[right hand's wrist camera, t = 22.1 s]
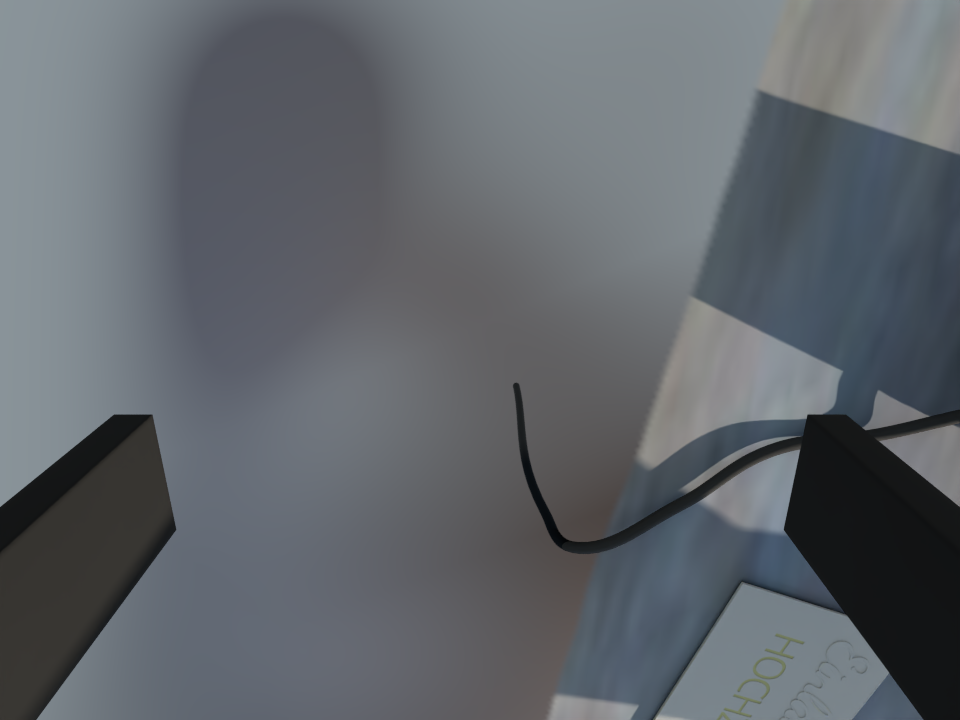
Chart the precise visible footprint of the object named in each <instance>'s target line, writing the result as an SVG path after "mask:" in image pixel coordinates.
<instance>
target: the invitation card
mask: <svg viewBox="0 0 960 720" xmlns="http://www.w3.org/2000/svg"><path fill="white" fill-rule="evenodd" d="M888 674H889V672H888V671H887V669H886V668H885V666H884V665H883V664H882V662H881V661H880V660H879V658H878V657H877V656H876V654H875V653H874V652H873V650H872V649H871V647H870V646H869V645H868V643H867V642H866V641H865V639H864V638H863V637H862V635H861V634H860V633H859V631H858V630H857V628H856V627H855V626H854V624H853V623H852V622H851V620H850V619H849V618H848V616H847V615H846V614H842V613H839V612H836V611H833V610H830V609H827V608H823V607H820V606H817V605H814V604H811V603H808V602H804V601H801V600H798V599H795V598H792V597H789V596H785V595H782V594H779V593H776V592H773V591H770V590H766V589H763V588H760V587H757V586H754V585H751V584H747V583H744V582H741V584H740V585H739V587H738V588H737V590H736V592H735V593H734V595H733V596H732V598H731V599H730V601H729V602H728V604H727V606H726V607H725V609H724V610H723V612H722V613H721V615H720V616H719V618H718V620H717V621H716V623H715V624H714V626H713V627H712V629H711V630H710V632H709V633H708V635H707V637H706V638H705V640H704V641H703V643H702V644H701V646H700V647H699V649H698V651H697V652H696V654H695V655H694V657H693V658H692V660H691V661H690V663H689V665H688V666H687V668H686V669H685V671H684V672H683V674H682V675H681V677H680V678H679V680H678V682H677V683H676V685H675V686H674V688H673V689H672V691H671V692H670V694H669V696H668V697H667V699H666V700H665V702H664V703H663V705H662V706H661V708H660V710H659V711H658V713H657V714H656V716H655V717H654V719H653V720H852V719H853V718H854V717H855V715H856V714H857V713H858V712H859V710H860V709H861V708H862V707H863V705H864V704H865V703H866V702H867V700H868V699H869V698H870V697H871V695H872V694H873V693H874V692H875V690H876V689H877V688H878V687H879V685H880V684H881V683H882V682H883V680H884V679H885V678H886V677H887V675H888Z"/></svg>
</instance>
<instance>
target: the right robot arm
mask: <svg viewBox="0 0 960 720" xmlns="http://www.w3.org/2000/svg"><path fill="white" fill-rule="evenodd" d="M513 389H514V395H515V403H516V414H517V429H518V441H519V450H520V456H521V462H522V466H523V471H524V474H525V478H526V481H527V484H528V487H529V489H530V492H531V494H532V497H533V499H534V502H535V504H536V506H537V508H538V510H539V512H540V514H541V516H542V518H543V520H544V523H545V526H546V528H547V531H548V533H549V535H550V537H551V539H552V540H553V541H554V543H555V544H556V545H557V546H558V547H560V548H561V549H563V550H565V551H568V552H572V553H578V554H591V553H599V552H603V551H607V550H610V549H613V548H616V547H618V546H620V545H622V544H625V543H627V542H629V541H630V540H632V539H634V538H636V537H638V536H639V535H641V534H643V533H644V532H646V531H648V530H649V529H651V528H653V527H654V526H656V525H658V524H659V523H661V522H663V521H664V520H666V519H668V518H669V517H671V516H673V515H675V514H677V513H679V512H680V511H682V510H684V509H686V508H688V507H690V506H692V505H693V504H695V503H697V502H698V501H700V500H702V499H703V498H705V497H706V496H708V495H709V494H711V493H712V492H714V491H715V490H716V489H718V488H719V487H721V486H722V485H723V484H725V483H726V482H728V481H729V480H730V479H732V478H733V477H735V476H736V475H738V474H739V473H741V472H742V471H744V470H746V469H748V468H749V467H751V466H753V465H755V464H757V463H759V462H761V461H763V460H766V459H768V458H771V457H773V456H776V455H779V454H782V453H786V452H790V451H794V450H799V449H800V454H799V459H798V464H797V468H796V473H795V478H794V483H793V488H792V492H791V497H790V502H789V507H788V512H787V517H786V521H785V526H784V531H785V532H786V533H787V535H788V536H789V538H790V539H791V540H792V542H793V543H794V544H795V546H796V547H797V548H798V550H799V551H800V552H801V554H802V555H803V557H804V558H805V559H806V561H807V562H808V563H809V565H810V566H811V567H812V569H813V570H814V571H815V573H816V574H817V576H818V577H819V578H820V580H821V581H822V582H823V584H824V585H825V586H826V588H827V589H828V590H829V592H830V593H831V595H832V596H833V597H834V599H835V600H836V601H837V603H838V604H839V605H840V607H841V608H842V609H843V611H844V612H845V614H846V615H847V616H848V618H849V619H850V620H851V622H852V623H853V624H854V626H855V627H856V628H857V630H858V631H859V633H860V634H861V635H862V637H863V638H864V639H865V641H866V642H867V643H868V645H869V646H870V647H871V649H872V650H873V652H874V653H875V654H876V656H877V657H878V658H879V660H880V661H881V662H882V664H883V665H884V666H885V668H886V669H887V671H888V672H889V673H890V675H891V676H892V677H893V679H894V680H895V681H896V683H897V684H898V685H899V687H900V688H901V690H902V691H903V692H904V694H905V695H906V696H907V698H908V699H909V700H910V702H911V703H912V704H913V706H914V707H915V709H916V710H917V711H918V713H919V714H920V715H921V717H922V718H923V719H924V720H960V507H959V506H958V505H957V504H955V503H954V502H953V501H952V500H950V499H949V498H948V497H947V496H945V495H944V494H943V493H942V492H941V491H939V490H938V489H937V488H936V487H934V486H933V485H932V484H931V483H929V482H928V481H927V480H926V479H925V478H923V477H922V476H921V475H920V474H918V473H917V472H916V471H915V470H913V469H912V468H911V467H910V466H909V465H907V464H906V463H905V462H904V461H902V460H901V459H900V458H899V457H897V456H896V455H895V454H894V453H892V452H891V451H890V450H889V449H888V448H886V447H885V446H884V445H883V444H881V443H880V442H879V441H881V440H887V439H892V438H897V437H901V436H906V435H910V434H914V433H919V432H923V431H927V430H931V429H936V428H940V427H944V426H949V425H953V424H958V423H960V410H956V411H951V412H947V413H943V414H939V415H935V416H930V417H926V418H922V419H918V420H914V421H910V422H906V423H901V424H897V425H892V426H888V427H883V428H878V429H872V430H864V429H863V428H862V427H860V426H859V425H858V424H857V423H856V422H854V421H853V420H852V419H851V418H849V417H848V416H847V415H807V420H806V425H805V430H804V435H803V436H801V437H796V438H791V439H786V440H783V441H779V442H776V443H773V444H770V445H767V446H764V447H762V448H759V449H757V450H755V451H753V452H751V453H749V454H747V455H745V456H743V457H741V458H740V459H738V460H736V461H735V462H733V463H732V464H730V465H728V466H727V467H726V468H724V469H723V470H721V471H720V472H718V473H717V474H716V475H714V476H713V477H712V478H710V479H709V480H707V481H706V482H705V483H703V484H702V485H700V486H699V487H697V488H696V489H694V490H693V491H691V492H689V493H688V494H686V495H684V496H682V497H681V498H679V499H677V500H675V501H673V502H671V503H669V504H667V505H666V506H664V507H662V508H660V509H659V510H657V511H655V512H654V513H652V514H650V515H649V516H647V517H646V518H644V519H642V520H641V521H639V522H637V523H636V524H634V525H632V526H630V527H629V528H627V529H625V530H623V531H621V532H619V533H617V534H615V535H613V536H610V537H607V538H604V539H601V540H597V541H591V542H573V541H570V540H568V539H566V538H564V537H563V536H562V535H561V533H560V532H559V530H558V528H557V526H556V524H555V521H554V519H553V516H552V514H551V512H550V510H549V509H548V507H547V505H546V503H545V501H544V499H543V497H542V494H541V492H540V490H539V487H538V485H537V482H536V479H535V476H534V473H533V470H532V466H531V462H530V458H529V453H528V447H527V440H526V431H525V420H524V409H523V401H522V395H521V390H520V385H519V383H514V384H513ZM175 531H176V526H175V521H174V517H173V512H172V507H171V502H170V497H169V493H168V488H167V483H166V478H165V473H164V468H163V464H162V459H161V454H160V449H159V444H158V440H157V435H156V430H155V425H154V420H153V415H113V416H112V417H111V418H109V419H108V420H107V421H106V422H104V423H103V424H102V425H101V426H100V427H98V428H97V429H96V430H95V431H93V432H92V433H91V434H90V435H88V436H87V437H86V438H85V439H84V440H82V441H81V442H80V443H79V444H77V445H76V446H75V447H74V448H72V449H71V450H70V451H69V452H68V453H66V454H65V455H64V456H63V457H61V458H60V459H59V460H58V461H56V462H55V463H54V464H53V465H52V466H50V467H49V468H48V469H47V470H45V471H44V472H43V473H42V474H40V475H39V476H38V477H37V478H35V479H34V480H33V481H32V482H31V483H29V484H28V485H27V486H26V487H24V488H23V489H22V490H21V491H20V492H18V493H17V494H16V495H15V496H13V497H12V498H11V499H10V500H8V501H7V502H6V503H5V504H3V505H2V506H1V507H0V720H36V719H37V718H38V717H39V715H40V714H41V713H42V711H43V710H44V709H45V707H46V706H47V704H48V703H49V702H50V700H51V699H52V698H53V696H54V695H55V694H56V692H57V691H58V690H59V688H60V687H61V685H62V684H63V683H64V681H65V680H66V679H67V677H68V676H69V675H70V673H71V672H72V671H73V669H74V668H75V666H76V665H77V664H78V662H79V661H80V660H81V658H82V657H83V656H84V654H85V653H86V652H87V650H88V649H89V647H90V646H91V645H92V643H93V642H94V641H95V639H96V638H97V637H98V635H99V634H100V632H101V631H102V630H103V628H104V627H105V626H106V624H107V623H108V622H109V620H110V619H111V618H112V616H113V615H114V614H115V612H116V611H117V609H118V608H119V607H120V605H121V604H122V603H123V601H124V600H125V599H126V597H127V596H128V594H129V593H130V592H131V590H132V589H133V588H134V586H135V585H136V584H137V582H138V581H139V580H140V578H141V577H142V575H143V574H144V573H145V571H146V570H147V569H148V567H149V566H150V565H151V563H152V562H153V561H154V559H155V558H156V557H157V555H158V554H159V552H160V551H161V550H162V548H163V547H164V546H165V544H166V543H167V542H168V540H169V539H170V538H171V536H172V535H173V533H174V532H175Z"/></svg>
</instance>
